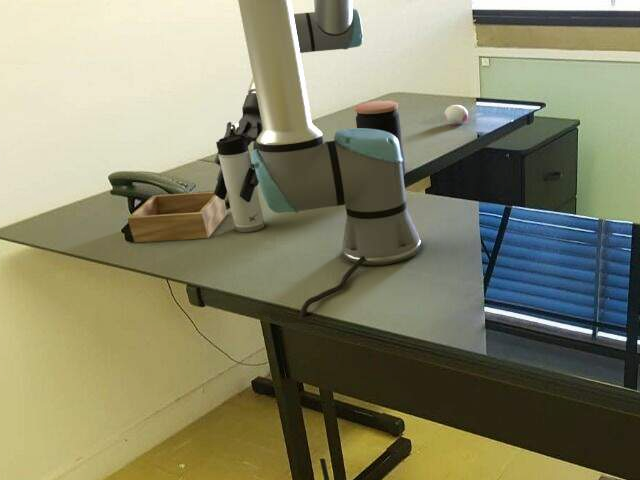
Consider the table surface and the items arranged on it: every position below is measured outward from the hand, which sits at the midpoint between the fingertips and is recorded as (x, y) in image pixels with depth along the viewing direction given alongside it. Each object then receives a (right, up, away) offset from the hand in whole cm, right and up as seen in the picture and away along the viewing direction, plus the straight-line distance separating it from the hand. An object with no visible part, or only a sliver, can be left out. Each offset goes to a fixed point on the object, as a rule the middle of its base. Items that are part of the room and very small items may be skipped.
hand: (231, 197), depth 167 cm
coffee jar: (+28, +13, +34) cm, 46 cm away
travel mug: (+2, -5, +7) cm, 9 cm away
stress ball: (+45, +43, +83) cm, 105 cm away
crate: (-14, -5, +10) cm, 18 cm away
